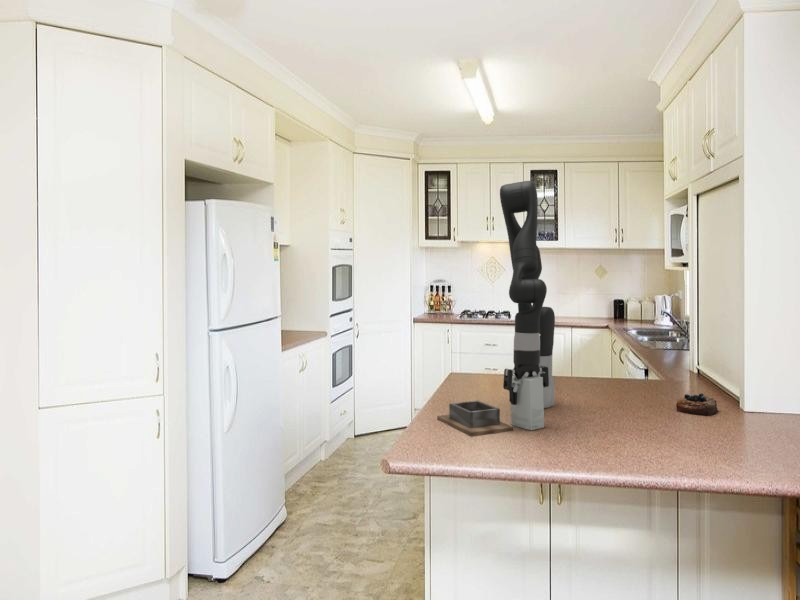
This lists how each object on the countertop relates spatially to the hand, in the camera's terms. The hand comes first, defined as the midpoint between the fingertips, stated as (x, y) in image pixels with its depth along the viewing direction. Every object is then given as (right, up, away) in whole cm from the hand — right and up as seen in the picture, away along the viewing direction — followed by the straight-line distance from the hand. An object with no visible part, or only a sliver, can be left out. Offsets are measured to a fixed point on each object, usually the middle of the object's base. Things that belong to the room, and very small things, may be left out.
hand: (525, 403), depth 175 cm
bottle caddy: (-15, -7, +2) cm, 17 cm away
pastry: (+59, -6, +19) cm, 62 cm away
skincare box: (0, -7, 0) cm, 7 cm away
